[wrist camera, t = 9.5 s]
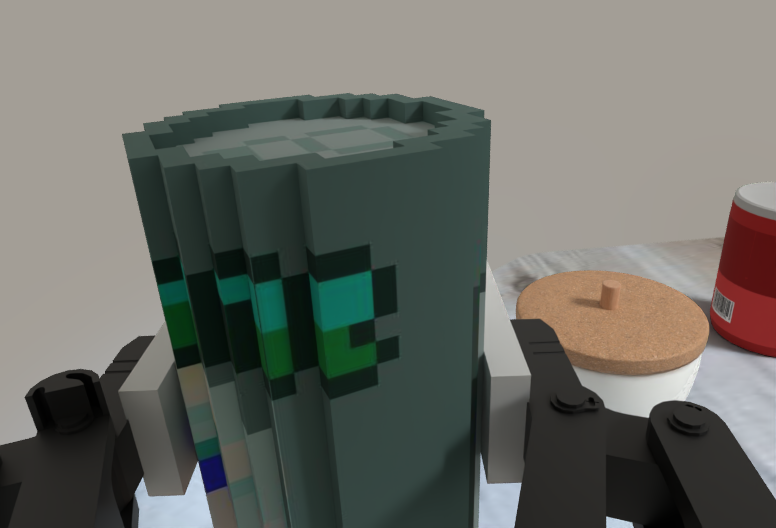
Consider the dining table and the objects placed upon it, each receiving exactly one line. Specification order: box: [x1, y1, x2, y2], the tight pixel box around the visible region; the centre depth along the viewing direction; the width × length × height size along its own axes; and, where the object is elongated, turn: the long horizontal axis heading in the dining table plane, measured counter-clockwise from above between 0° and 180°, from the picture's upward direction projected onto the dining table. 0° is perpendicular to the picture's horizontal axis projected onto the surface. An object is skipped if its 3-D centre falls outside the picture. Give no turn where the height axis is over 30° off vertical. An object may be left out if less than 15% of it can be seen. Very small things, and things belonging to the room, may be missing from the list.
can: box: [122, 93, 491, 528], centre depth 14 cm, size 6×6×15 cm
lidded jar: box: [516, 271, 709, 418], centre depth 36 cm, size 11×11×9 cm
